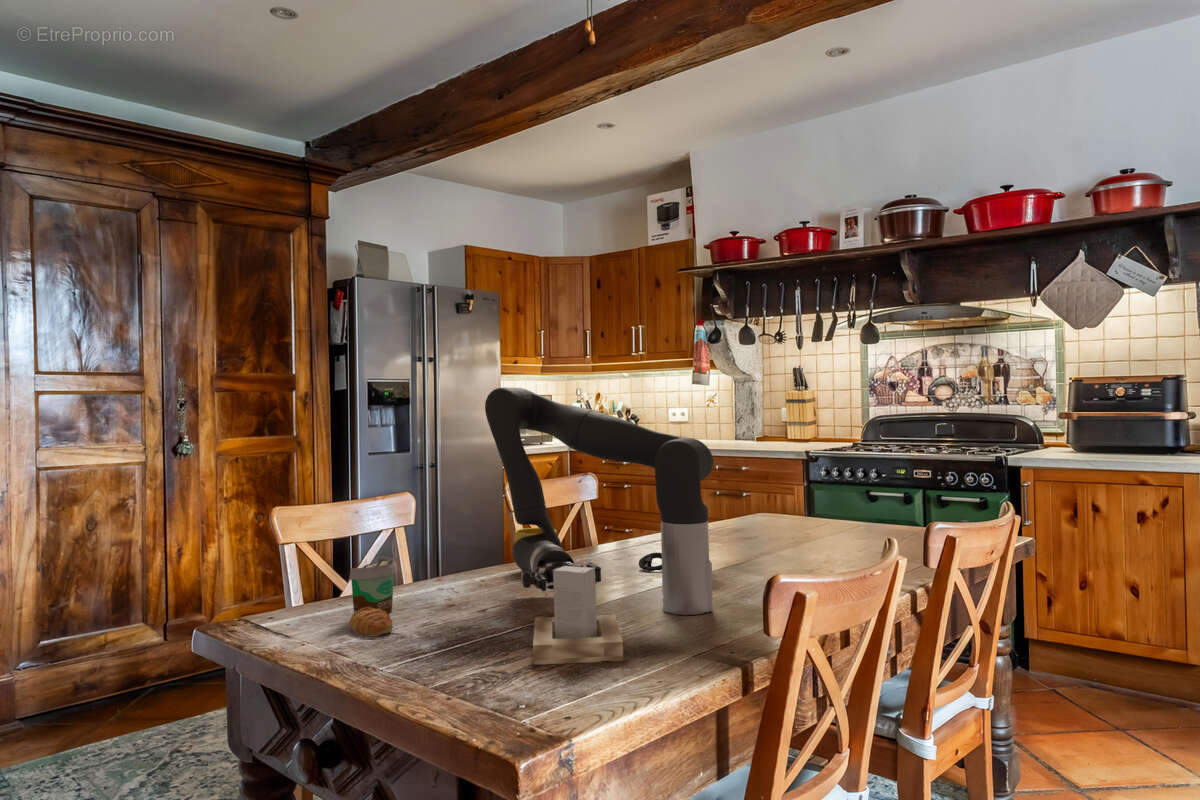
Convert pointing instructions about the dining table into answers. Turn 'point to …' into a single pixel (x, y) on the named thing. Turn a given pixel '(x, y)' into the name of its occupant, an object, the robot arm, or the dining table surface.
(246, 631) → the dining table surface
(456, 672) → the dining table surface
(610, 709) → the dining table surface
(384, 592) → the food container
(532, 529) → the plant pot
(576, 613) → the skincare box
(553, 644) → the holder
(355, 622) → the pastry
